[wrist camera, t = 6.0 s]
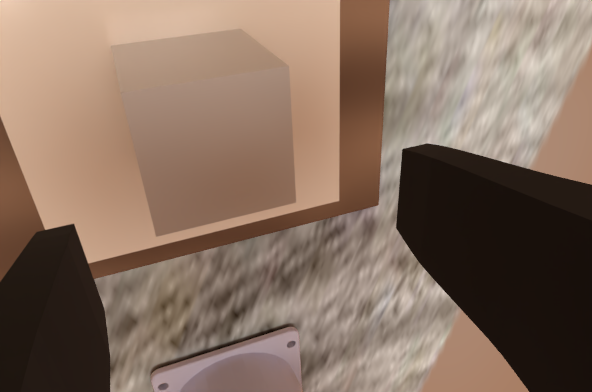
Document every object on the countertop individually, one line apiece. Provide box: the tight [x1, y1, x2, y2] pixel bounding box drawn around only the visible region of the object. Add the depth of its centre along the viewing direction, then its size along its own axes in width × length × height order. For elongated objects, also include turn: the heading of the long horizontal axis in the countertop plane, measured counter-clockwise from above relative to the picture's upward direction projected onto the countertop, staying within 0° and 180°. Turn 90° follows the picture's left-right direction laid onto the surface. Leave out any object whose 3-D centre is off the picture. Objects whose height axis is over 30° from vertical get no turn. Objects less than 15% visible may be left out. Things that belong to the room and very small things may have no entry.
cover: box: [0, 0, 340, 263], centre depth 15 cm, size 11×11×6 cm
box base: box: [0, 0, 390, 281], centre depth 15 cm, size 14×24×4 cm, turn 93°
